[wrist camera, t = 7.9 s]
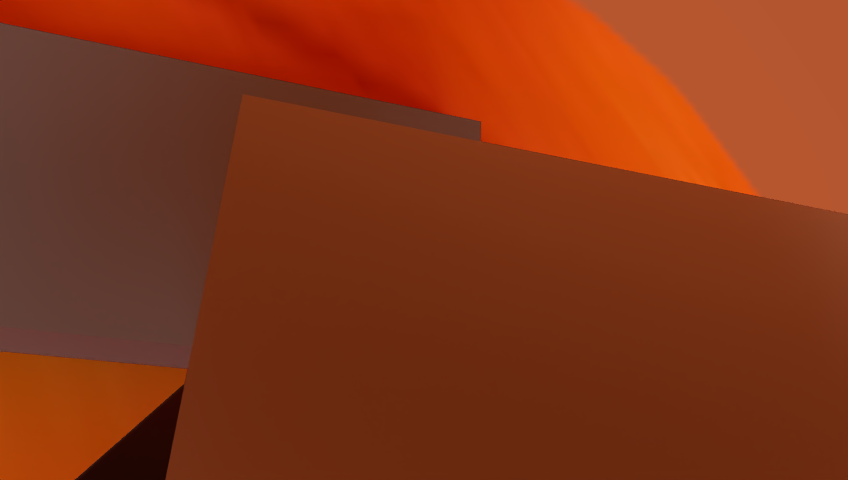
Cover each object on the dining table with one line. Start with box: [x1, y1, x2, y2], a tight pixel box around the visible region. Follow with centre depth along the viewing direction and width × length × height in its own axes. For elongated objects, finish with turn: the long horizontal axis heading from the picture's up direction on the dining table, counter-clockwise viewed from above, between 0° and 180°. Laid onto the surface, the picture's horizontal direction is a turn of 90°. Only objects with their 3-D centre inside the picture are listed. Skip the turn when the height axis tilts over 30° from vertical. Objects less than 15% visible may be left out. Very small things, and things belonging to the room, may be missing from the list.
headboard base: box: [0, 23, 481, 369], centre depth 17 cm, size 9×20×10 cm, turn 87°
